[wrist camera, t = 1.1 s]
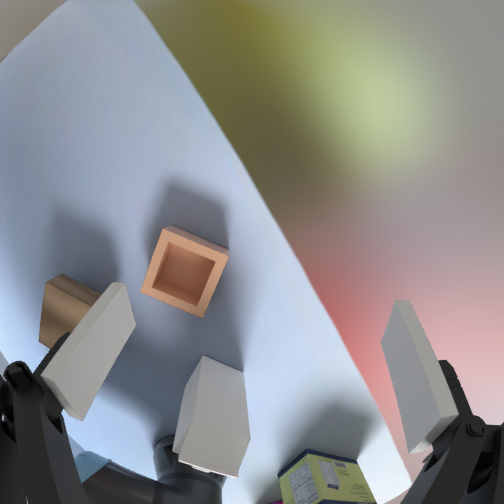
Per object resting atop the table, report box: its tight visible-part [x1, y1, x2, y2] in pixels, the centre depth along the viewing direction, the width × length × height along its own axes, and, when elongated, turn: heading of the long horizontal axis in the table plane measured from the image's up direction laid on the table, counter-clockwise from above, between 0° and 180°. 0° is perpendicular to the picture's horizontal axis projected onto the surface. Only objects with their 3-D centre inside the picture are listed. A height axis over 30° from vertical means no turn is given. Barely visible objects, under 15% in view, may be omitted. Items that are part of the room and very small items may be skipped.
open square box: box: [140, 225, 229, 318], centre depth 38 cm, size 9×9×5 cm
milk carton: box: [172, 355, 251, 478], centre depth 34 cm, size 7×7×19 cm
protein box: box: [278, 449, 377, 504], centre depth 43 cm, size 10×16×16 cm
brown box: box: [39, 274, 102, 349], centre depth 35 cm, size 10×10×4 cm
